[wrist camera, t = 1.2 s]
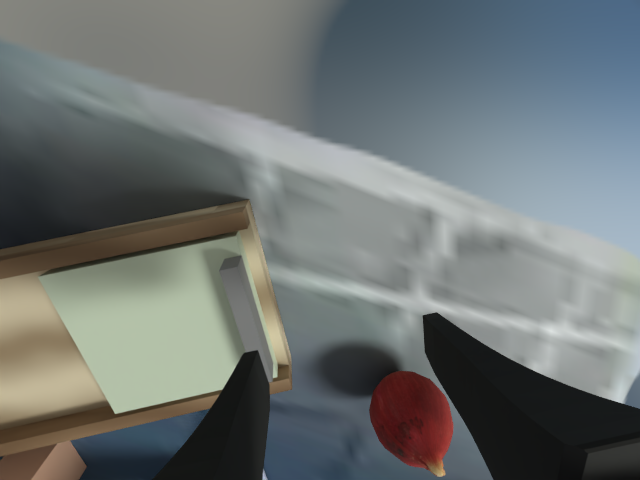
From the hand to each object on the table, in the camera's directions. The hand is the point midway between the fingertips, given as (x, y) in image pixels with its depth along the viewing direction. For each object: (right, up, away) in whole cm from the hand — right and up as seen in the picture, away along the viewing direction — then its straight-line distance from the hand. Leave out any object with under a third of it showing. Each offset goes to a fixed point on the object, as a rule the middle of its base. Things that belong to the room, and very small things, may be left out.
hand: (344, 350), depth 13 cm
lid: (-10, -1, +7) cm, 12 cm away
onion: (+5, -7, +13) cm, 16 cm away
